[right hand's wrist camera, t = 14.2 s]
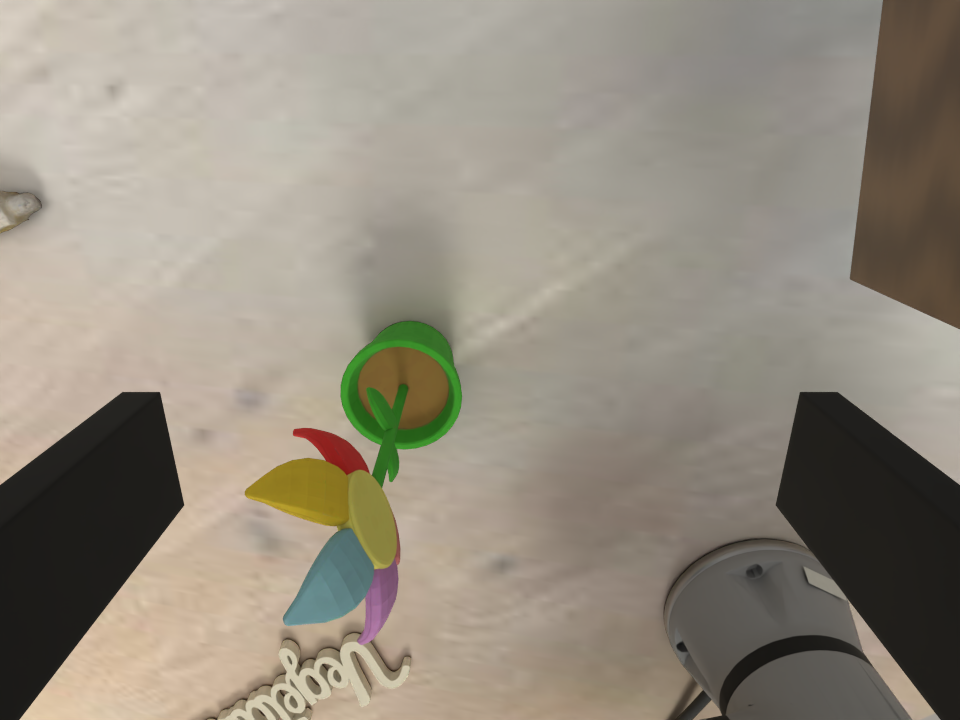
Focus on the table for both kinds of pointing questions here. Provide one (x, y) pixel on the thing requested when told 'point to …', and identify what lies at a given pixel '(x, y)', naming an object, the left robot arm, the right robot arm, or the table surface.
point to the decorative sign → (302, 688)
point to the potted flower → (365, 473)
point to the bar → (913, 162)
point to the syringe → (16, 208)
